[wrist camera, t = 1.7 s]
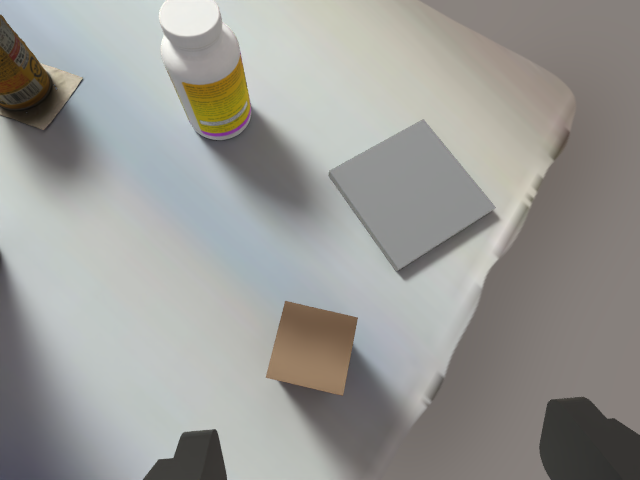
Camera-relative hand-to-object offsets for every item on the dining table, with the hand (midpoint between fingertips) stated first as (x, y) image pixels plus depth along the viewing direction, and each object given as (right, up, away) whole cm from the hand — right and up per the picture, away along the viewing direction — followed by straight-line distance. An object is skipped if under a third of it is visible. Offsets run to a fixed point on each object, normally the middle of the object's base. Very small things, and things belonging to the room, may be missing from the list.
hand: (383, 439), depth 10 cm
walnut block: (-2, -5, +26) cm, 27 cm away
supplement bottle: (-12, +18, +34) cm, 40 cm away
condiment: (-33, +21, +34) cm, 51 cm away
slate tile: (+8, +10, +31) cm, 34 cm away
